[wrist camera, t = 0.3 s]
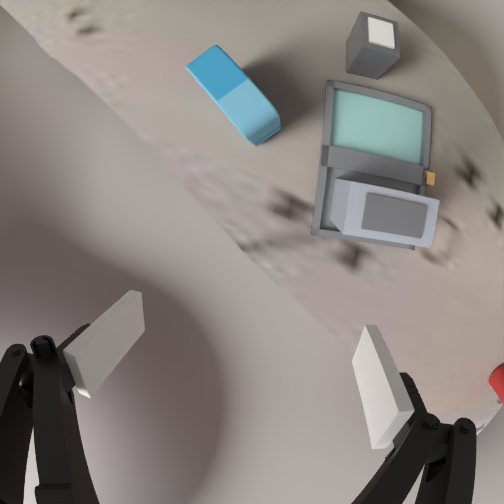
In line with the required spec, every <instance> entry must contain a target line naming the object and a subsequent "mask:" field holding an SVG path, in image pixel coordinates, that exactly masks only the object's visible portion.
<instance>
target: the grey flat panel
mask: <svg viewBox="0 0 504 504" xmlns="http://www.w3.org/2000/svg"><path fill="white" fill-rule="evenodd" d="M430 138H431V107H429V106H427V105H424V104H421V103H418V102H415V101H412V100H409V99H406V98H403V97H399V96H396V95H392V94H389V93H385V92H381V91H378V90H374V89H369V88H365V87H361V86H356V85H352V84H347V83H342V82H336V81H330V80H327V82H326V91H325V106H324V119H323V131H322V143H321V153H320V163H319V172H318V181H317V189H316V197H315V205H314V213H313V220H312V227H311V235H315V236H323V237H330V238H337V239H345V240H352V241H359V242H366V243H373V244H379V245H386V246H393V247H399V248H406V249H412V250H415V246H416V245H410V244H404V243H397V242H391V241H385V240H378V239H372V238H365V237H358V236H351V235H344V234H342V233H341V232H340V230H339V229H338V228H337V227H336V226H335V224H334V223H333V222H332V221H331V220H330V213H331V206H332V199H333V191H334V183H335V179H342V180H348V181H353V182H359V183H364V184H370V185H375V186H380V187H385V188H390V189H394V190H399V191H404V192H408V193H412V194H416V195H420V196H424V197H425V190H426V184H429V185H432V186H434V182H435V173H433V172H430V171H428V165H429V153H430Z"/></svg>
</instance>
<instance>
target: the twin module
mask: <svg viewBox="0 0 504 504" xmlns="http://www.w3.org/2000/svg"><path fill="white" fill-rule="evenodd" d="M439 202H440V200H436V199H432V198H428V197H424V196H420V195H416V194H412V193H408V192H404V191H399V190H394V189H390V188H385V187H380V186H375V185H370V184H364V183H359V182H353V181H348V180H342V179H335V183H334V191H333V199H332V206H331V213H330V220H331V221H332V222H333V223H334V224H335V226H336V227H337V228H338V229H339V230H340V232H341V233H342V234H344V235H351V236H358V237H365V238H372V239H378V240H385V241H391V242H397V243H404V244H410V245H416V246H422V247H428V248H431V244H432V239H433V235H434V230H435V225H436V220H437V214H438V208H439Z"/></svg>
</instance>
